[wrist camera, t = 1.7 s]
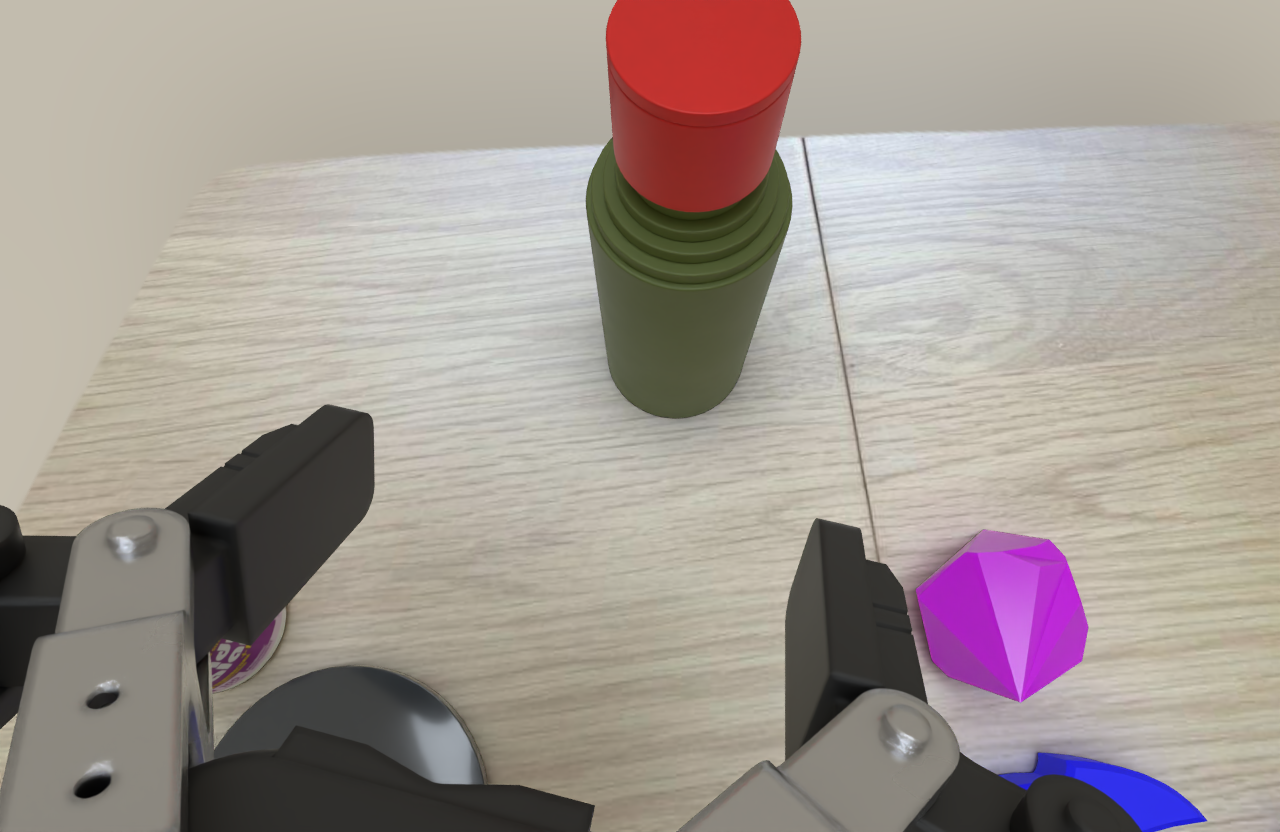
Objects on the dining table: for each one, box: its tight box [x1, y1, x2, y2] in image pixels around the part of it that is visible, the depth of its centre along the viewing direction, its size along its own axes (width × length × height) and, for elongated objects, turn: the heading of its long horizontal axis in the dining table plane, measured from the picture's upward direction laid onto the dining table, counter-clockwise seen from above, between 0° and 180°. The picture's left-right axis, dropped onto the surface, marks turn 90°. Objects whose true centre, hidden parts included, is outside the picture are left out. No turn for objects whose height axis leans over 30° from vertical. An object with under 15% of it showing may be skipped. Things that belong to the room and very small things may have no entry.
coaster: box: [214, 665, 488, 785], centre depth 27 cm, size 11×11×1 cm
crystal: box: [916, 529, 1088, 702], centre depth 27 cm, size 5×5×5 cm
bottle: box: [586, 137, 792, 418], centre depth 25 cm, size 6×6×18 cm
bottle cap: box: [606, 0, 801, 212], centre depth 17 cm, size 4×4×4 cm
